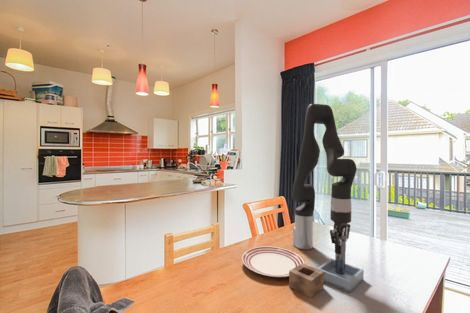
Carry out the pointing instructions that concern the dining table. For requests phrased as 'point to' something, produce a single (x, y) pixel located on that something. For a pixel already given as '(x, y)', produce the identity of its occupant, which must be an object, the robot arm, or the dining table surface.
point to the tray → (342, 276)
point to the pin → (341, 257)
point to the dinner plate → (271, 261)
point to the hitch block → (306, 280)
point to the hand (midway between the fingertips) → (340, 251)
